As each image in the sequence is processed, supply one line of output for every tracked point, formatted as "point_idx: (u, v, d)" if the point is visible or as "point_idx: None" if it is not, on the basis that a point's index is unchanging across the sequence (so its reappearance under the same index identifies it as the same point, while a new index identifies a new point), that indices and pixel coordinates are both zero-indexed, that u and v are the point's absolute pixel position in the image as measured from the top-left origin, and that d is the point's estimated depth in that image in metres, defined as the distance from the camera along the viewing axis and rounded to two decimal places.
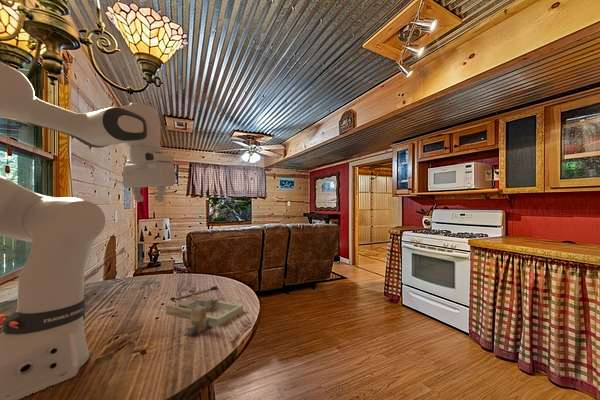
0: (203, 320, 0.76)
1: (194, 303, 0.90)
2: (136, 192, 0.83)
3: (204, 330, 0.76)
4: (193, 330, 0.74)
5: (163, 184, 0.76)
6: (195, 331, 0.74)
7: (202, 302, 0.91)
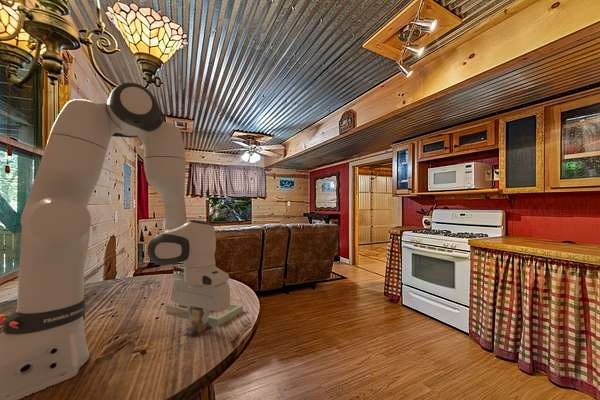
0: None
1: None
2: (191, 309, 0.77)
3: (204, 330, 0.76)
4: (193, 330, 0.74)
5: (219, 310, 0.71)
6: (195, 331, 0.74)
7: None
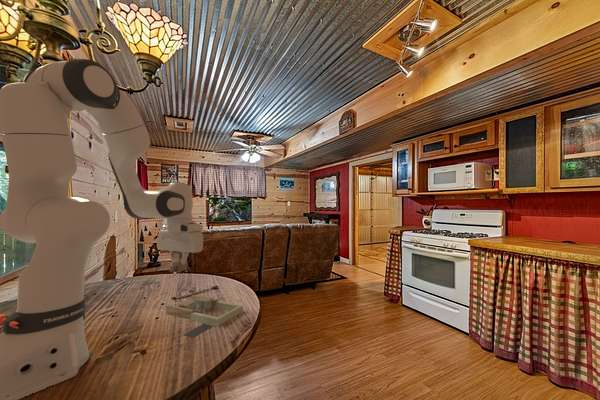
0: None
1: (194, 303, 0.90)
2: (172, 254, 0.97)
3: (204, 330, 0.76)
4: (174, 268, 0.93)
5: (193, 251, 0.91)
6: (176, 269, 0.94)
7: (202, 302, 0.91)
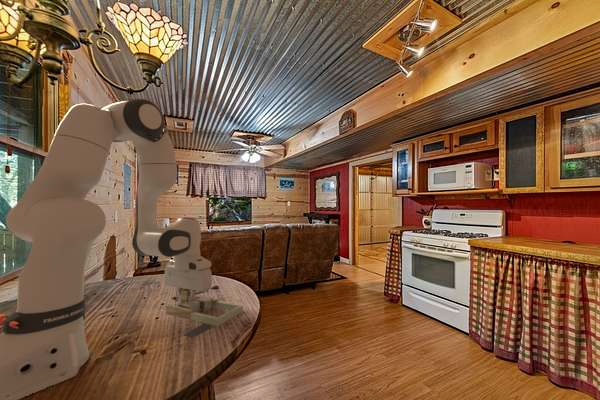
0: None
1: (198, 304, 0.89)
2: (180, 290, 0.94)
3: (204, 330, 0.76)
4: None
5: (202, 290, 0.88)
6: None
7: (202, 302, 0.91)
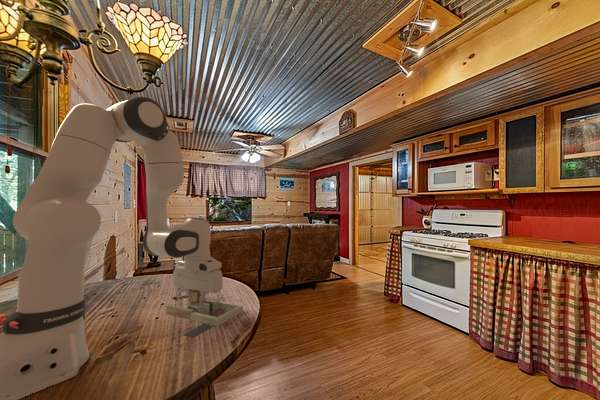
0: None
1: (208, 306, 0.87)
2: (189, 292, 0.92)
3: (204, 330, 0.76)
4: None
5: (213, 292, 0.87)
6: None
7: (210, 303, 0.90)
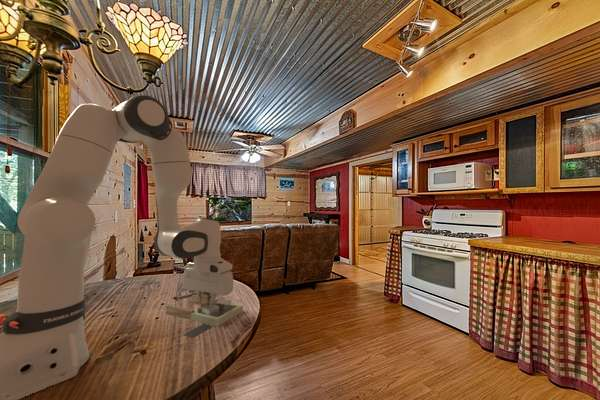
0: None
1: (217, 309, 0.85)
2: (199, 294, 0.91)
3: (204, 330, 0.76)
4: None
5: (224, 294, 0.84)
6: None
7: (222, 305, 0.88)
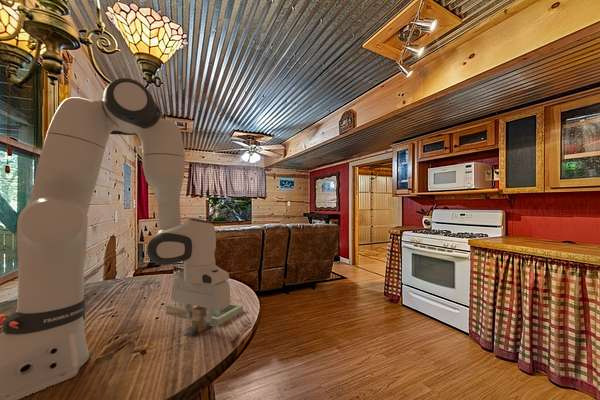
0: (203, 320, 0.76)
1: None
2: (187, 307, 0.78)
3: (204, 330, 0.76)
4: (193, 330, 0.74)
5: (219, 309, 0.71)
6: (195, 331, 0.75)
7: None
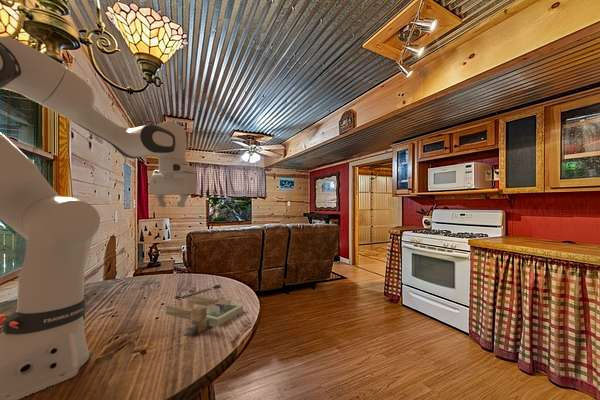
0: (203, 320, 0.76)
1: (218, 309, 0.85)
2: (160, 198, 0.93)
3: (204, 330, 0.76)
4: (193, 330, 0.74)
5: (186, 192, 0.86)
6: (195, 331, 0.75)
7: (221, 305, 0.88)
